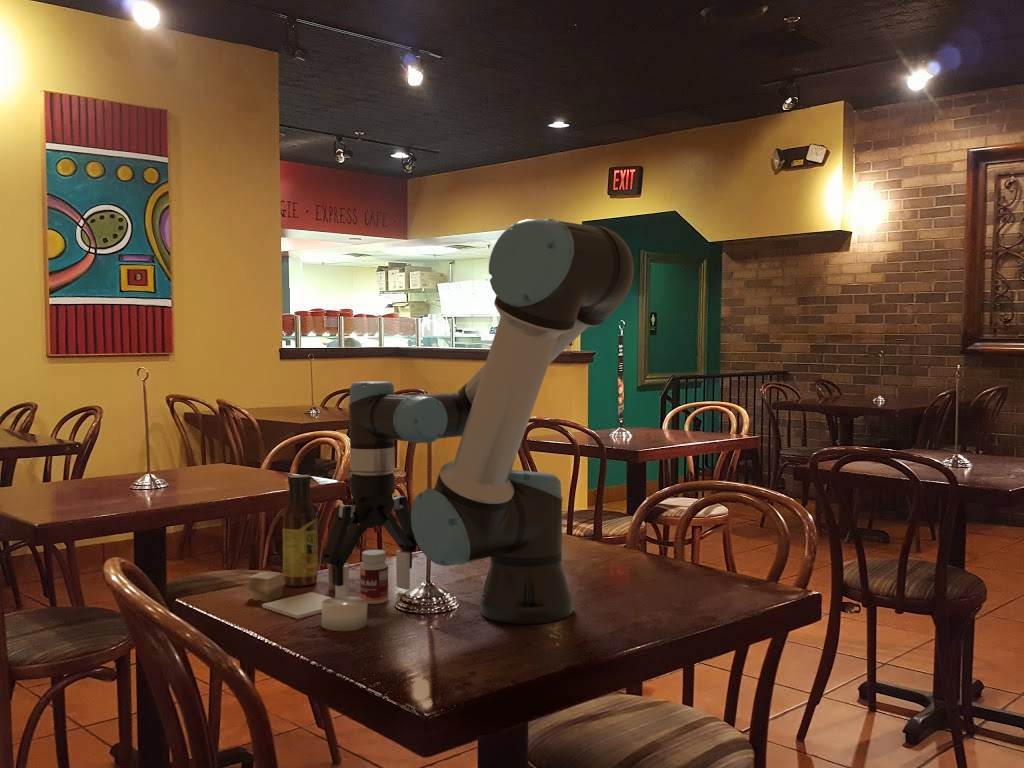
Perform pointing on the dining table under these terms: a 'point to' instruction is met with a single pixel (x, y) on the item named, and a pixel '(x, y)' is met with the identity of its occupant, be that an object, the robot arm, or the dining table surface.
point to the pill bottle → (374, 577)
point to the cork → (331, 586)
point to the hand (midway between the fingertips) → (373, 596)
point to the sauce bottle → (300, 534)
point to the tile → (298, 605)
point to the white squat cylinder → (344, 613)
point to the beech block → (265, 586)
